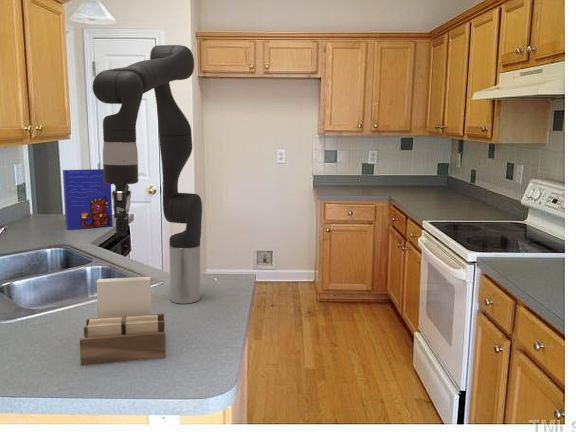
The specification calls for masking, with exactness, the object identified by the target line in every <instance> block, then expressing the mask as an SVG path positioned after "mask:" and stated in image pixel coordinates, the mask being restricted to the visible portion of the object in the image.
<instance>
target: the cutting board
mask: <svg viewBox="0 0 576 432" xmlns="http://www.w3.org/2000/svg"><path fill="white" fill-rule="evenodd" d="M151 278H152V277H151V276H137V277H136V276H135V277H134V276H133V277H132V276H131V277H114V278H98V279H97V280H96V297H97V298H96V299H97V300H96V301H97V318H98V319H102V318H117V317H122V323H126V318H127V317H132V316H147V315H151V314H152V279H151Z"/></svg>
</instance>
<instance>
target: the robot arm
mask: <svg viewBox="0 0 576 432" xmlns="http://www.w3.org/2000/svg"><path fill="white" fill-rule="evenodd" d="M149 56H150V57H149V59H144V60H140V61H137V62H134V63H131V64H130V65H127V66H125V67H124V66H123V67H117V68H110V69H105V70H102V71H100V72H99V73H98V74H96V75H95V77H94V79H93V81H92V92H93V94H94V96H95V98H96V99H97V100H98V101H100V102H101V103H104V104H108V105H109V104H112V105H121V106H120V108H119V111H118V112H117V113H114V114H113V113H112V114H110V115H106V116H105V117H103V120H102V134H103V145H102V167H103V168H102V169H103V174H104V182H105V183H106V184H111V185H114V186H115V187H114V188H115V190H112V191H111V198H112V211H113V212H114V213H113V217H114V218H113V219H114V221H115V232H116V233H115V234H116V236H117V237H127V235H128V231H127V230H128V229H129V227H130V226H129V212H130V207H131V198H132V191H131V190H130V186H129V185H134V184H138V182H139V157H138V156H139V155H138V154H139V153H138V147H137V128H136V127H137V120H138V117H139V116H138V115H139V111H140V107H141V102H142V101H143V95H144V94H145V93H147V92H149V91H152V90H154V97H155V103H156V111H157V112H156V113H157V121H158V122H157V124H158V125H157V126H158V127H157V128H158V138H159V140H158V143H159V149H160V158H161V159H160V160H161V168H162V169H161V171H162V210H163V216H164V218H165V220H166V221H167V222H169V223H173V224H184V225H185V229H184V230H183V231H182V232H177V233H175V234H172V235H171V236H170V237H169V239H168V240H169V290H170V294H169V297H170V301H171V302H172V303H176V304H181V305H182V304H193V303H196V302H199V301H200V300H201V238H202V219H203V201H202V198H201V196H200V194H197V193H192V192H191V193H190V192H179V186H178V185H179V179H180V175H181V173H182V171H183V169H184V167H185V166H186V164H187V162H188V160H189V159H190V157H191V155H192V151H193V136H192V126H191V124H190V122H189V120H188V118H187V117H186V115H185V114H184V112H183V111H182V110H181V108H180V107H179V105H178V103H177V102H176V101H175V98H174V96H173V92H172V89H171V83H170V82H174V81H184V80H188V79H189V78H190V77H191V76H192V75H193V73H194V69H195V58H194V54H193V52H192V50H191V49H190V48H189V47H188V46H186V45H182V44H172V45H171V44H167V45H166V44H162V45H154V46H153V47H152V49H151V51H150V55H149Z"/></svg>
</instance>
